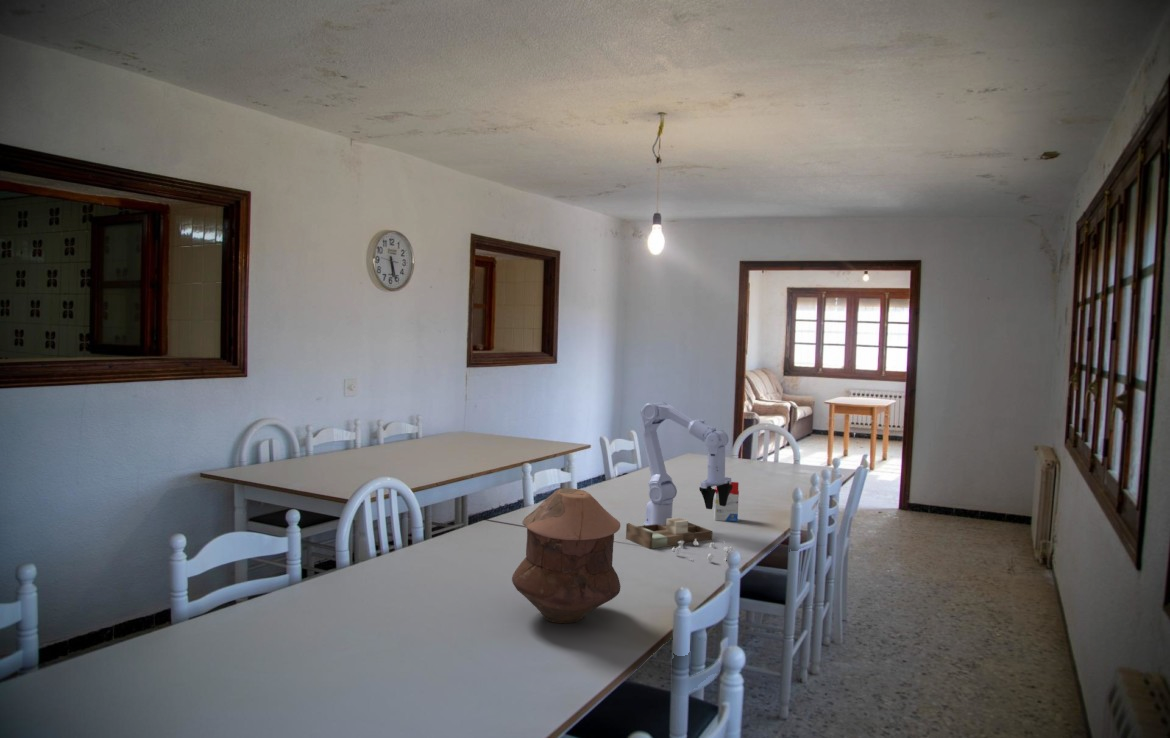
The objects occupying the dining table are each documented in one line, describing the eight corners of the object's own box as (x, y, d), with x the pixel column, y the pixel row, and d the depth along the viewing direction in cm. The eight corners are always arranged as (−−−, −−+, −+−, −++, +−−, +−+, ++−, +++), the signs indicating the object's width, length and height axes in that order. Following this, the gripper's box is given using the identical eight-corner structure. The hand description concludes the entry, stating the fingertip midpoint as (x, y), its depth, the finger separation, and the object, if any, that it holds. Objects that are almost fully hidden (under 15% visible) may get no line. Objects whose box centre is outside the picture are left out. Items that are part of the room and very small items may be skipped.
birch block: (666, 530, 253) (666, 518, 252) (677, 529, 255) (678, 517, 255) (675, 534, 248) (676, 522, 248) (687, 532, 251) (688, 520, 251)
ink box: (736, 518, 287) (738, 480, 286) (737, 522, 282) (739, 482, 281) (713, 517, 287) (715, 478, 287) (714, 520, 282) (716, 481, 282)
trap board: (622, 536, 254) (623, 522, 254) (683, 529, 268) (684, 515, 267) (649, 548, 241) (650, 533, 241) (712, 539, 255) (712, 525, 255)
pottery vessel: (539, 591, 198) (543, 476, 196) (633, 607, 188) (638, 487, 187) (491, 624, 174) (496, 494, 172) (596, 646, 164) (602, 508, 163)
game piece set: (734, 567, 227) (735, 554, 227) (667, 560, 231) (667, 547, 230) (735, 549, 246) (735, 537, 246) (672, 543, 250) (673, 532, 250)
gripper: (713, 470, 247) (712, 512, 248) (739, 466, 258) (738, 506, 258) (695, 467, 253) (695, 508, 253) (721, 463, 263) (721, 503, 263)
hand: (715, 507), depth 256 cm, fingers open, 7 cm apart
